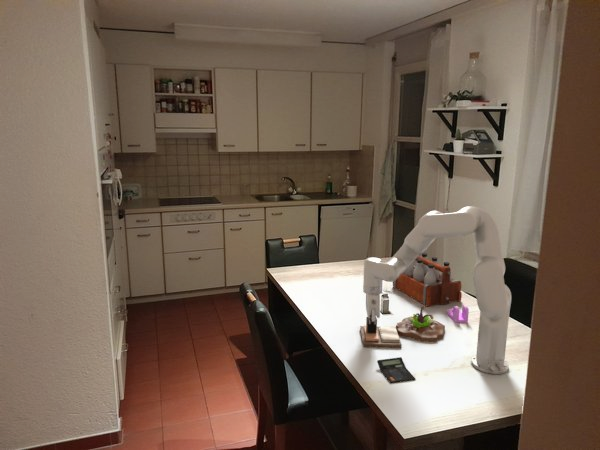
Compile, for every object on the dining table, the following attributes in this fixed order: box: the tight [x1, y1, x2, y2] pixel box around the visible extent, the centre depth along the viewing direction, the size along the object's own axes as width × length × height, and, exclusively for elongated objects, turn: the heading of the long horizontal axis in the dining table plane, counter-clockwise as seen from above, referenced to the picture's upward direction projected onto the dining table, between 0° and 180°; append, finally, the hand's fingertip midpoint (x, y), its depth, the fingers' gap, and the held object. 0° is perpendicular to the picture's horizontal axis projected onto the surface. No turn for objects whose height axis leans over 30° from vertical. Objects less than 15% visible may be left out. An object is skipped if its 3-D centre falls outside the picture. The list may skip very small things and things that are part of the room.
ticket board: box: [360, 325, 402, 349], centre depth 189 cm, size 16×15×3 cm
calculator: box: [376, 357, 416, 384], centre depth 163 cm, size 9×12×3 cm
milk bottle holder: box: [392, 252, 463, 307], centre depth 237 cm, size 21×35×19 cm, turn 22°
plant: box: [395, 304, 446, 343], centre depth 195 cm, size 20×20×11 cm
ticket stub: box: [363, 316, 379, 341], centre depth 188 cm, size 12×5×7 cm, turn 177°
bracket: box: [446, 305, 470, 324], centre depth 210 cm, size 13×6×7 cm, turn 2°
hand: (371, 330), depth 189 cm, fingers closed on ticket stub, 3 cm apart
